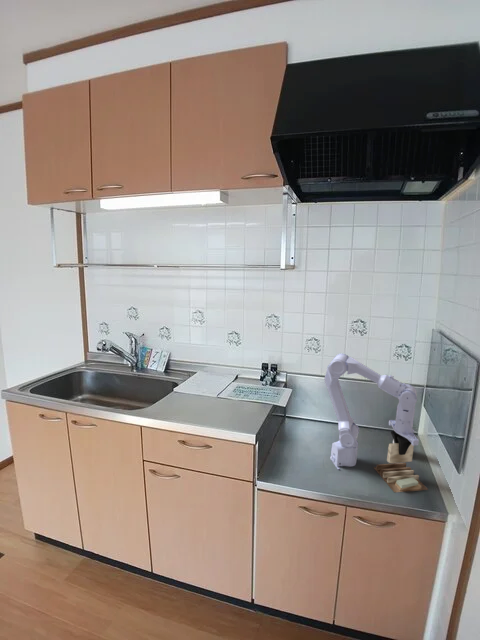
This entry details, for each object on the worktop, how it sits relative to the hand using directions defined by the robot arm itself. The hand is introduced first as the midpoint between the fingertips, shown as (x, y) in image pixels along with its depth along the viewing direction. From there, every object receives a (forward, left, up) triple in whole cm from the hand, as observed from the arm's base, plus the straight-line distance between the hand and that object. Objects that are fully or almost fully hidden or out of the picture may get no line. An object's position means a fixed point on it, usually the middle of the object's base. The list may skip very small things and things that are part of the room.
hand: (400, 452), depth 123 cm
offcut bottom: (0, -6, -9) cm, 12 cm away
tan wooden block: (0, 0, -3) cm, 3 cm away
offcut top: (-1, -6, -8) cm, 11 cm away
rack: (0, -1, -10) cm, 11 cm away
